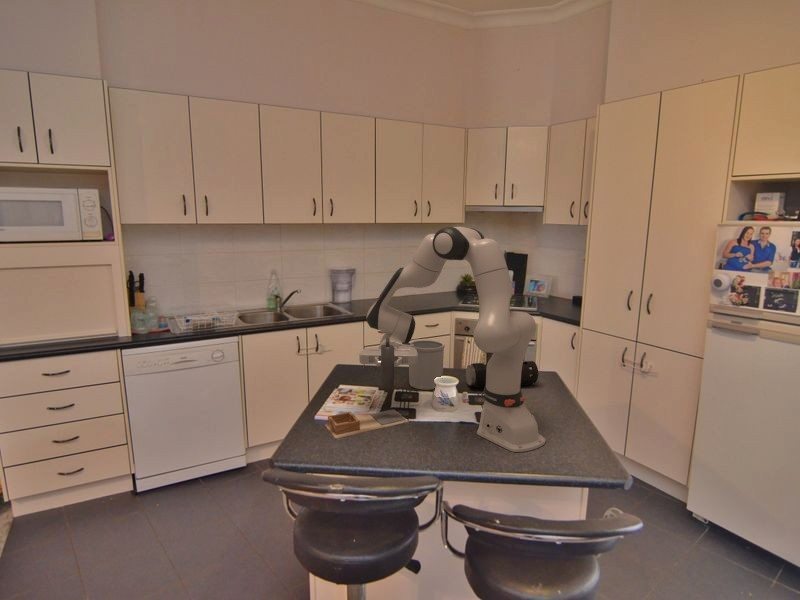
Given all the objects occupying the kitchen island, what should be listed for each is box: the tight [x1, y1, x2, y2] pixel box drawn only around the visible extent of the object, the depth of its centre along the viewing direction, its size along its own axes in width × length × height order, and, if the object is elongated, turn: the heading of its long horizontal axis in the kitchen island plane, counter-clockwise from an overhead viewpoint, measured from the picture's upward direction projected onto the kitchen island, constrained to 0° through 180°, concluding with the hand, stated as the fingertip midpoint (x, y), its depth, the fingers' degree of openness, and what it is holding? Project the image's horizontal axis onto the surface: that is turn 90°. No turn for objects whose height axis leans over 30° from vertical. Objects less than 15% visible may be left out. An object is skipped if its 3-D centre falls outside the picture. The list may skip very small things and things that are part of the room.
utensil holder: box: [408, 338, 445, 391], centre depth 194 cm, size 15×15×18 cm
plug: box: [380, 337, 395, 389], centre depth 157 cm, size 4×4×17 cm
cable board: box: [323, 408, 410, 439], centre depth 156 cm, size 11×26×4 cm, turn 118°
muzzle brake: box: [465, 360, 539, 389], centre depth 192 cm, size 10×28×10 cm, turn 100°
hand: (387, 364), depth 156 cm, fingers closed on plug, 4 cm apart
